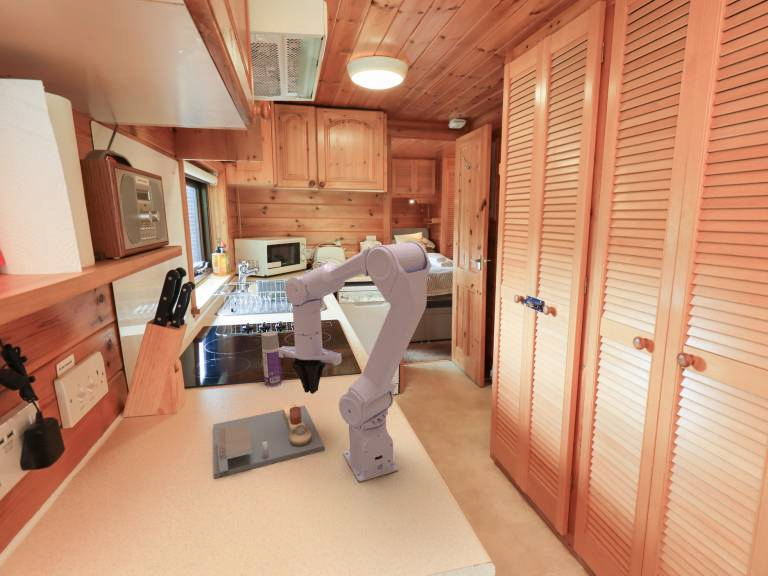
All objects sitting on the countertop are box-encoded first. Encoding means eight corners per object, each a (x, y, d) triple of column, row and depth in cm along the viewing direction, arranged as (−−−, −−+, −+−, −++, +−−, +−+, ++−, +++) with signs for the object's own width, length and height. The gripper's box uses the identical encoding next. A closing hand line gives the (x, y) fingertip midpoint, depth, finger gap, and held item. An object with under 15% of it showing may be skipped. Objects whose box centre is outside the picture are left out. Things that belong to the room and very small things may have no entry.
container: (284, 380, 116) (280, 331, 113) (278, 387, 111) (274, 336, 108) (268, 379, 116) (264, 331, 113) (262, 386, 111) (258, 336, 109)
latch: (314, 442, 82) (313, 422, 81) (292, 448, 80) (290, 427, 79) (299, 409, 96) (298, 392, 95) (280, 413, 94) (278, 396, 93)
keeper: (253, 468, 76) (251, 448, 75) (220, 477, 73) (218, 456, 73) (249, 441, 85) (247, 423, 84) (219, 448, 82) (217, 429, 82)
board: (324, 450, 81) (323, 432, 80) (214, 478, 73) (212, 459, 72) (304, 409, 98) (303, 394, 98) (213, 428, 90) (211, 412, 89)
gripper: (347, 329, 84) (349, 388, 87) (290, 323, 90) (293, 379, 92) (331, 339, 78) (333, 402, 80) (270, 332, 83) (275, 392, 86)
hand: (311, 391), depth 86 cm, fingers closed
